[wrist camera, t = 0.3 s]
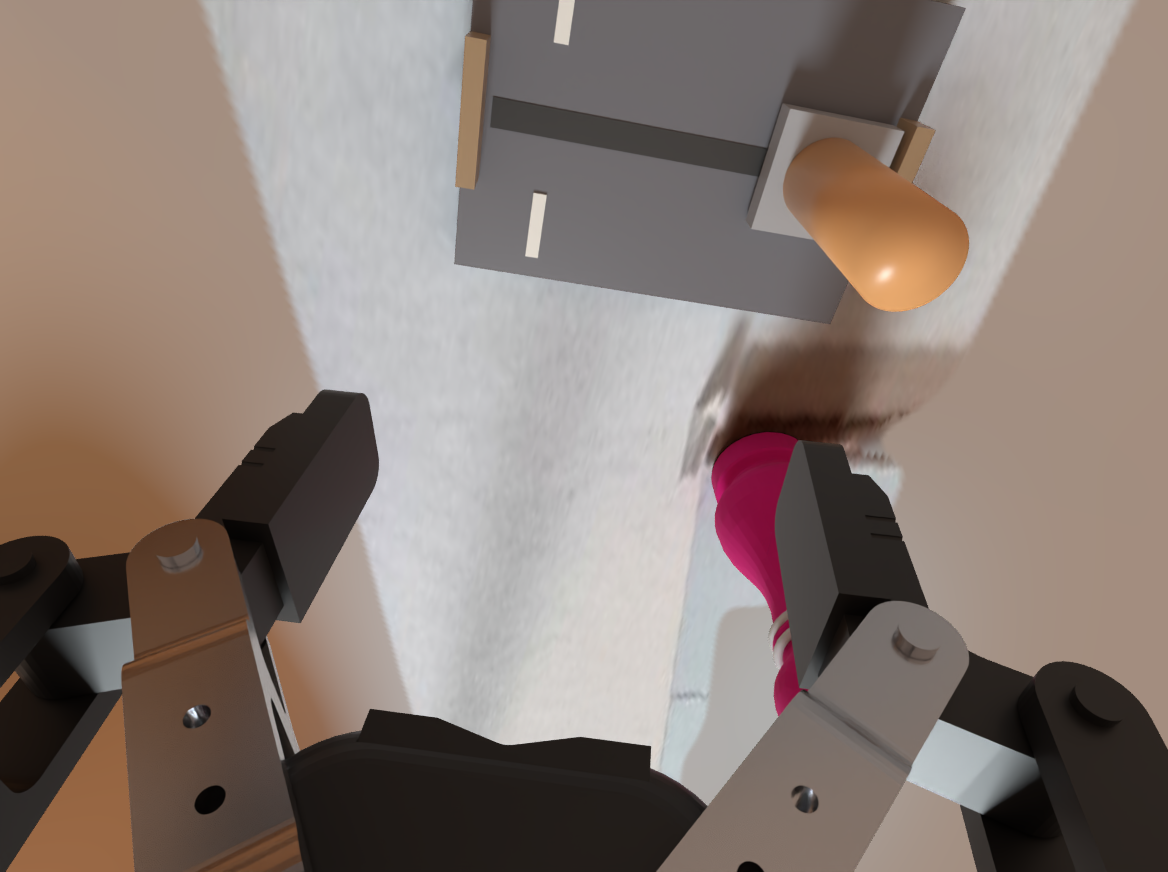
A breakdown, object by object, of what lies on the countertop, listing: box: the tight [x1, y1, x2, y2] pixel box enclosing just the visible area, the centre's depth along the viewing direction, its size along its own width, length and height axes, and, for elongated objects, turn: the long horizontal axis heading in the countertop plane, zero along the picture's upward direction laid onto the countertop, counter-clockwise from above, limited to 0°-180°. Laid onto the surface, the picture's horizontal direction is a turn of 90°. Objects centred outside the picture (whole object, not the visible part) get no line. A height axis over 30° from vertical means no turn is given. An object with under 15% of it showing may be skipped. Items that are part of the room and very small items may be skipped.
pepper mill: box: [711, 432, 809, 716], centre depth 34 cm, size 7×7×20 cm
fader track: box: [454, 0, 966, 324], centre depth 30 cm, size 14×19×3 cm
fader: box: [746, 103, 969, 312], centre depth 26 cm, size 5×5×10 cm
